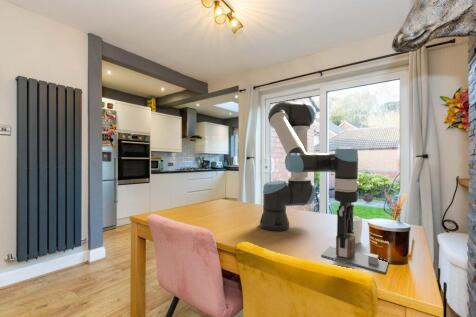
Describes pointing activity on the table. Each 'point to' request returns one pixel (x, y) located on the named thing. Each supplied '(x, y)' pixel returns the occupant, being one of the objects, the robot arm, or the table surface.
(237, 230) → the table surface
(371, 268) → the stand
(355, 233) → the white cup
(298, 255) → the table surface
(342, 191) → the robot arm
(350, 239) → the brown wooden block
